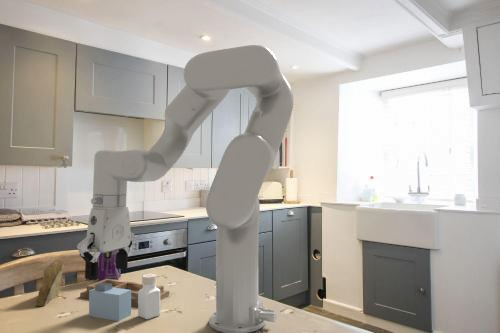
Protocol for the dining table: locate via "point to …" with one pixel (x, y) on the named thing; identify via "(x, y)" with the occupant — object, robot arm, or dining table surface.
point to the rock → (50, 283)
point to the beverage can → (108, 266)
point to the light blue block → (109, 302)
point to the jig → (125, 285)
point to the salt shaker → (149, 297)
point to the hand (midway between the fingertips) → (107, 273)
